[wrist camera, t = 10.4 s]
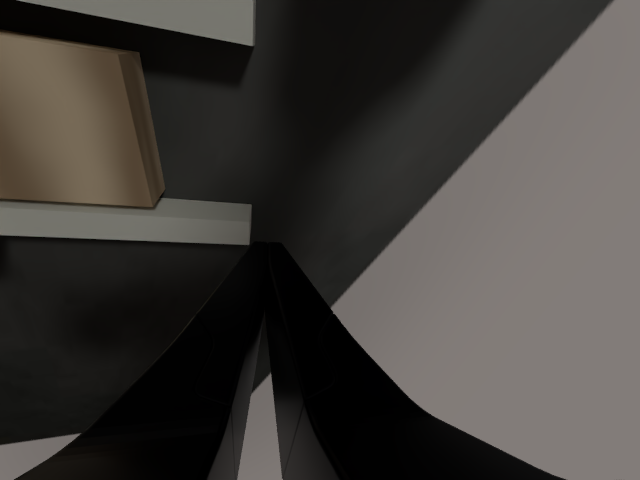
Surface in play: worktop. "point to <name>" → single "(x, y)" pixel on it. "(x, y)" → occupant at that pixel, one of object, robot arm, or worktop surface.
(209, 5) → the canopy channel
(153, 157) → the tan wooden block
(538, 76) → the worktop surface
